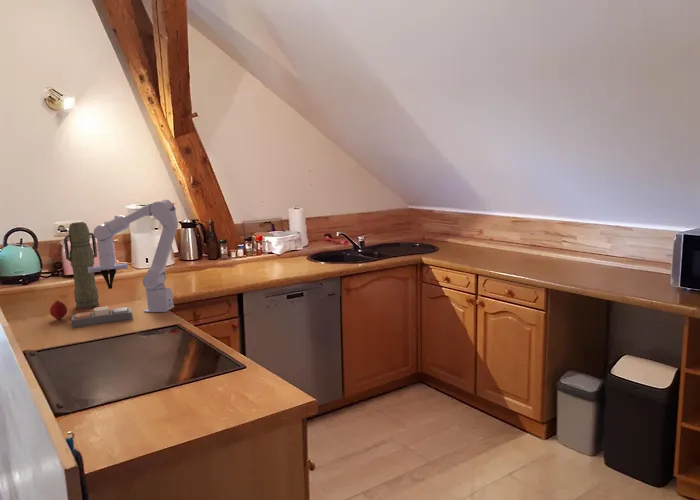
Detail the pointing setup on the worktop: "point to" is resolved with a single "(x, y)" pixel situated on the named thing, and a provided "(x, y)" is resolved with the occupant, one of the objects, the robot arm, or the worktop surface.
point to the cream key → (101, 311)
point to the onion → (58, 310)
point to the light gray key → (120, 310)
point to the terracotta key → (83, 315)
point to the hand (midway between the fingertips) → (110, 288)
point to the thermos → (82, 264)
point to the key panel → (101, 319)
